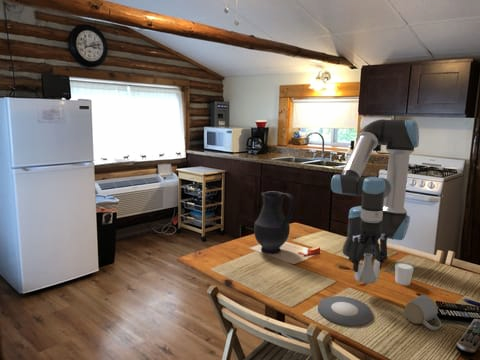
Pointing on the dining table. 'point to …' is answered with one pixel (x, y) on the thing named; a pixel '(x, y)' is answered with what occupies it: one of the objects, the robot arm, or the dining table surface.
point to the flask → (367, 270)
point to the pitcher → (273, 222)
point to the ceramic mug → (422, 311)
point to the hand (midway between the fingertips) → (366, 278)
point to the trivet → (345, 311)
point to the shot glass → (403, 273)
